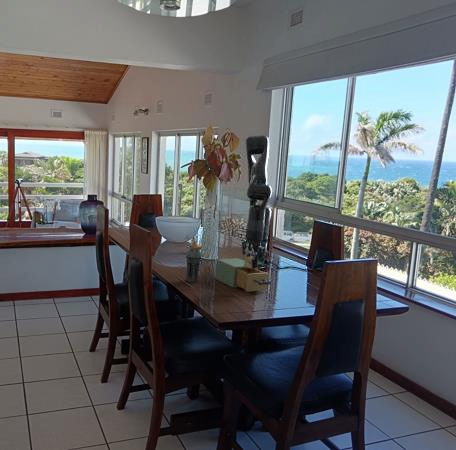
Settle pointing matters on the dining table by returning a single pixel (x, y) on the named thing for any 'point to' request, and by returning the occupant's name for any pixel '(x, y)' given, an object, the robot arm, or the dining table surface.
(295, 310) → the dining table surface
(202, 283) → the dining table surface
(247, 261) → the block
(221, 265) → the cabinet
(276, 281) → the dining table surface
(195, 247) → the orange bird figurine
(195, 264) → the beverage cup
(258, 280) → the drawer
